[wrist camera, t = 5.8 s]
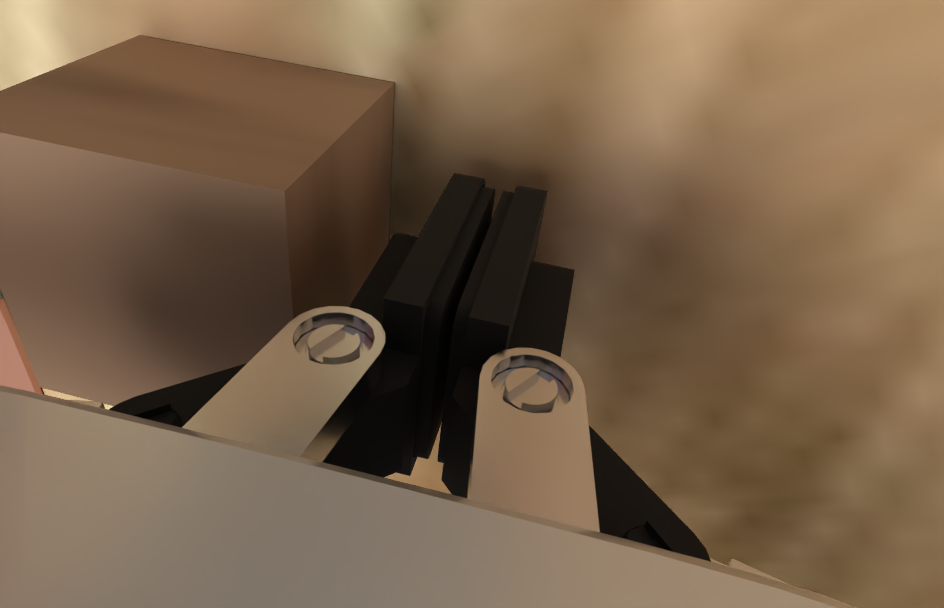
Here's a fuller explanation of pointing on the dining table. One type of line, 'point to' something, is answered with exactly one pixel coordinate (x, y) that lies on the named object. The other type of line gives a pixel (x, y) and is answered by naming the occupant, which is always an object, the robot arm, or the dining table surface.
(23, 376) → the bay rack
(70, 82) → the walnut block
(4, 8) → the dining table surface
